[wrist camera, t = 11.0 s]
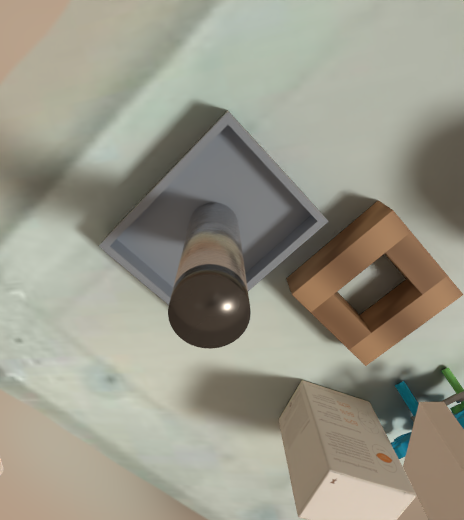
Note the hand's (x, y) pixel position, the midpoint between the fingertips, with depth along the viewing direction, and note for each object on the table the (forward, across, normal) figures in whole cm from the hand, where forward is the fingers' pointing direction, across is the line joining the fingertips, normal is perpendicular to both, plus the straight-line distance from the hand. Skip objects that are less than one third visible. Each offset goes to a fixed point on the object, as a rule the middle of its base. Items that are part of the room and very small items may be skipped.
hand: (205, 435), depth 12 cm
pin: (+22, 0, 0) cm, 22 cm away
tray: (+22, 0, 0) cm, 22 cm away
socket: (+22, +13, -5) cm, 26 cm away
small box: (+22, +11, -20) cm, 32 cm away
